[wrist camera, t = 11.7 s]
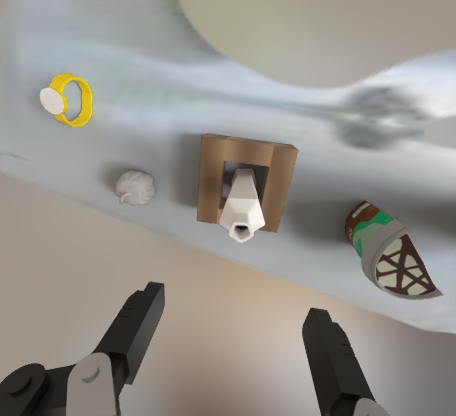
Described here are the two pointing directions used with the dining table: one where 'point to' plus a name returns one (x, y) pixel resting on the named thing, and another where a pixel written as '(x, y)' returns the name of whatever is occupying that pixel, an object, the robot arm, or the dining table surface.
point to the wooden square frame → (250, 154)
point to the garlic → (135, 188)
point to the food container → (388, 254)
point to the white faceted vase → (242, 207)
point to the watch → (58, 102)
